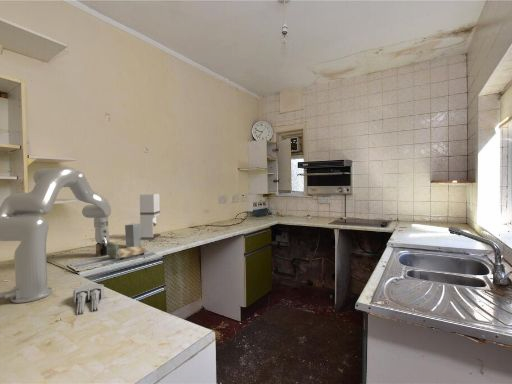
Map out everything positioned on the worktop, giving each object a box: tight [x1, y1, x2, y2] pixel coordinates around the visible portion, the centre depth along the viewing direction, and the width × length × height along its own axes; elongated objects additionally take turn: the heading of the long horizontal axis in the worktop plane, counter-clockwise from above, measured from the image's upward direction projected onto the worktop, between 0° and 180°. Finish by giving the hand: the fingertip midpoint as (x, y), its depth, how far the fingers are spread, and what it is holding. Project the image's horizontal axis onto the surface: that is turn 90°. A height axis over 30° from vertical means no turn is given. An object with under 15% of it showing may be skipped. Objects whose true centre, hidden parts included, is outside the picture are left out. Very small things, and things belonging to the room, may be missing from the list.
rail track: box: [68, 250, 157, 269], centre depth 152 cm, size 42×16×1 cm, turn 140°
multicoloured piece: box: [106, 241, 148, 260], centre depth 158 cm, size 18×12×9 cm
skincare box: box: [124, 223, 142, 248], centre depth 182 cm, size 8×7×16 cm
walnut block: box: [95, 243, 108, 258], centre depth 162 cm, size 5×5×7 cm
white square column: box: [139, 193, 161, 241], centre depth 208 cm, size 11×11×35 cm
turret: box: [72, 283, 105, 316], centre depth 99 cm, size 10×20×5 cm, turn 30°
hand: (102, 253), depth 162 cm, fingers closed on walnut block, 5 cm apart
